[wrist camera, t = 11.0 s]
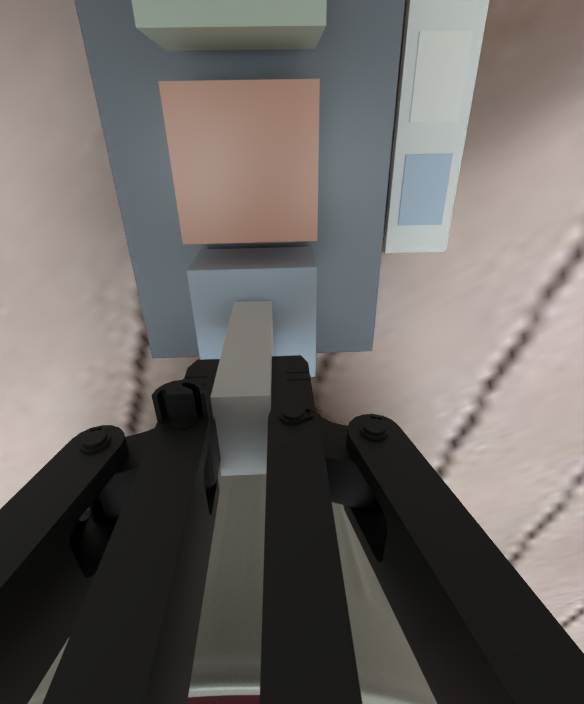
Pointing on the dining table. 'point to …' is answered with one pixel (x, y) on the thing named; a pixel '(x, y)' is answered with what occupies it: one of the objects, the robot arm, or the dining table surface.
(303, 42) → the key sage
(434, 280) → the dining table surface
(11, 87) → the dining table surface
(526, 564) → the dining table surface
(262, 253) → the key blue
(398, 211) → the card
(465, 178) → the dining table surface
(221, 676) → the canister
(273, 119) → the key terracotta
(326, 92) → the keypad board
